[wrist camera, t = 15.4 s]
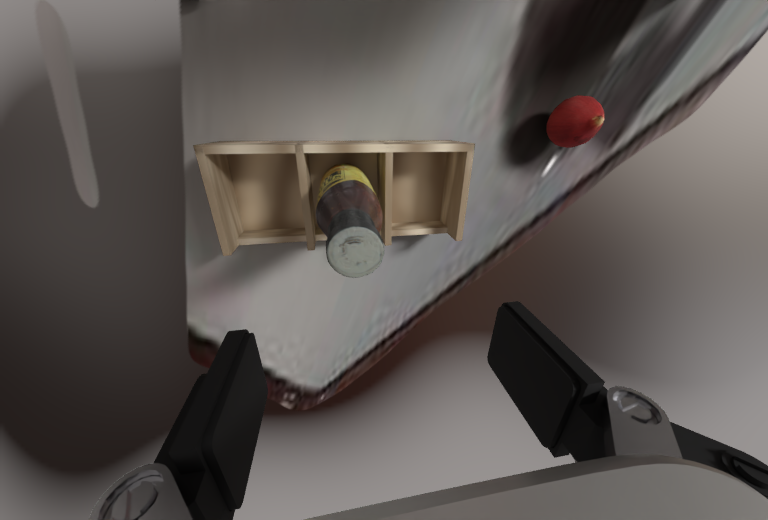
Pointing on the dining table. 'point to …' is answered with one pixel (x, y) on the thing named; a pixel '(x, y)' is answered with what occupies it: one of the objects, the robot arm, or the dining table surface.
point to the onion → (575, 121)
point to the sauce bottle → (350, 221)
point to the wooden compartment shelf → (303, 177)
